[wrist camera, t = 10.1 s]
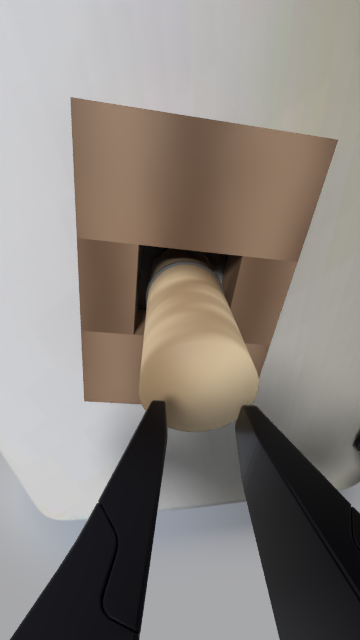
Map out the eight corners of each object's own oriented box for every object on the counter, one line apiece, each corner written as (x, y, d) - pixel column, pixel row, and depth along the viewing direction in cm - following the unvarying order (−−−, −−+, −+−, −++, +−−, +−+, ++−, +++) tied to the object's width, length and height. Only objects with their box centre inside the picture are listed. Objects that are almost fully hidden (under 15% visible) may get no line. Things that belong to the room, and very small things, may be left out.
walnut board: (307, 141, 15) (338, 140, 13) (238, 380, 23) (248, 409, 20) (87, 106, 14) (70, 97, 11) (93, 371, 22) (84, 401, 19)
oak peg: (221, 249, 18) (277, 344, 9) (208, 310, 20) (245, 435, 11) (150, 241, 17) (139, 333, 9) (145, 304, 19) (132, 431, 11)
